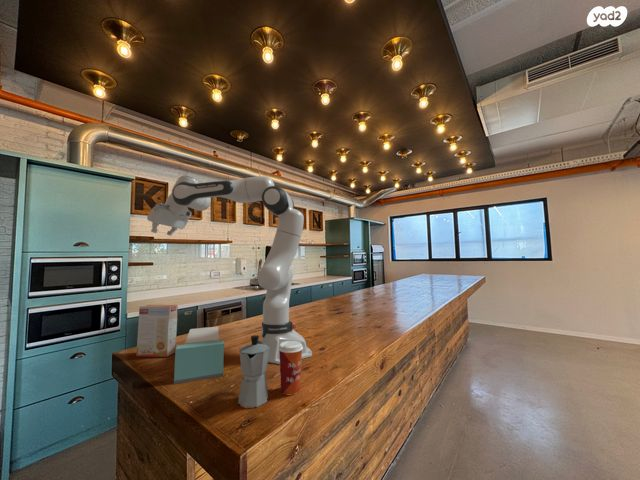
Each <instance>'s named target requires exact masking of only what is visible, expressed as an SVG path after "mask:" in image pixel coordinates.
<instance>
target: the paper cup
mask: <svg viewBox="0 0 640 480" xmlns="http://www.w3.org/2000/svg"><path fill="white" fill-rule="evenodd" d="M278 349H279V351H280V364H279V366H280V367H279V369H280V370H279V371H280V389H281V390H280V391H282V392H281V394H283V393H284V394H294V393H296V392H298V391H299V392H300V387H301V373H302V359H301V358H302V349H303V346H302V344H301V343H300V342H298V341H285V342H282V343H281V344H280V347H279V348H278ZM299 392H298V393H299ZM284 394H283V395H284Z"/></svg>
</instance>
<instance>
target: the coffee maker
mask: <svg viewBox="0 0 640 480" xmlns="http://www.w3.org/2000/svg"><path fill="white" fill-rule="evenodd" d="M250 339H251V343H250V344H246V345H244V346H243V347H240V348H239V358H240V359H239V360H240V370H241V373H242V378H241V382H240V388H239V395H238V402H237V405H238V404H240V405H242V406H243V407H247V408H250V407H252V408H251V409H255V408H254V407H258V406H260V405H262V404H264V403H266V402H267V403H268V400H267V399H269V392H268V383H267V378H266V377H267V376H266V372H267V370H268V363H269V362H268V357H269V350H270V348H269V347H268V346H267V345H264V344H262V340H261V341H259V339H260V336H259V335H258V334H256V335H251V336H250ZM267 403H266V404H267ZM264 405H265V404H264ZM262 406H263V405H262ZM260 407H261V406H260ZM258 408H259V407H258Z"/></svg>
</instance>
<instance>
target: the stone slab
mask: <svg viewBox="0 0 640 480" xmlns="http://www.w3.org/2000/svg"><path fill="white" fill-rule="evenodd" d="M219 334H220V333H219V326H209V327H208V326H207V327H199V328H190V329H189V332H188V334H187V337H186V339H185V342H184V345H186V344H195V343H204V342H212V341H220V336H219Z"/></svg>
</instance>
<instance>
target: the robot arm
mask: <svg viewBox="0 0 640 480" xmlns="http://www.w3.org/2000/svg"><path fill="white" fill-rule="evenodd" d="M216 197H217V198H223V199H227V200H230V201H232V202H236V203H238V204H249V203H254V202H262V205H264V207H265V208H266V209H267V210H268V211H270V213H271V214H273V215H275V216H276V217H278V225H277V227H276V231H275V234H274V238H273V241H272V244H271V248H270V250H269V253H268V254H267V257H266V259H265V260H264V262H263V264H262V267H261V268H260V270H259V271H258V272H257V283H258V284H259V286H260V288H261V289H264V290H265V291H266V293H265V297H264V301H263V303H262V322H261V326H260V327H261V329H260V332H261V333H260V335H261V341H262V344H264V345H267V346H268V347H269V348H270V350H269V357H268V363H272V364H276V365H280V351H279V349H278V348H279V347H280V344H281V343H282V342H285V341H298V342H300V343H301V344H302V346H303V349H302V358H301V360H303V359H308V358H311V357H312V355H313V351H312V350H311V349H310V348H309V347H308V346H307V342H306V339H305V338H304V337H303V336H302V335H301V334H300V333H298V332H297V331H296V330H294V329H296V328H297V327H298V326H297V323H296V322H293V321H290V299H291V292H292V283H293V281H292V280H293V276H294V275H293V270H292V269H291V268H290V267H291V265H292V263H293V261H294V259H295V256H296V255H297V253H298V248H299V245H300V241H301V238H302V235H303V229H304V225H305V224H304V223H305V216H304V214H303V213H302V212H301V210H298V209H295V203H294V200H293V199H292V198H291V196H290V195H289V194H288V192H287V191H286V190H285V189H283V187H280V186H277V185H275V183H274V181H273V179H272V178H271V177H269V176H264V175H263V176H260V175H259V176H250V177H244V178H238V179H233V180H232V179H231V180H217V181H208V182H199V181H198V180H197V179H196V178H195V177H192V176H189V175H185V174H183V175H181V176H180V177H179V178H178V179H177V180H176V182H175V183H174V185H173V188H172V189H171V193H170V194H169V195H168V196H167V198H166V201H165V203H163V202H159V203H156V204H155V205H154V207H152V209H151V210H150V211H149V213H148V215H147V216H146V219H147V220H148V221H149V222H151V226H152V227H151V229H150V231H151V233H154V234H157V232H158V230H159V229H158V227H159V225H163V226H166V227H170V228H171V229H170V230H167V233H166V235H168V236H171V237H172V236H173V234H174V233H175V232H176V231H177V230H178V229H180V230H183V229H185V228H186V226H187V224H188V222H189V219H190V218H191V216H192V213H193V212H192V211H190V210H189V209H193V210H196V211H201V212H202V211H206V210H207V209H209V207H210V206H211V203H212V198H216ZM188 208H189V209H188Z"/></svg>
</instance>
